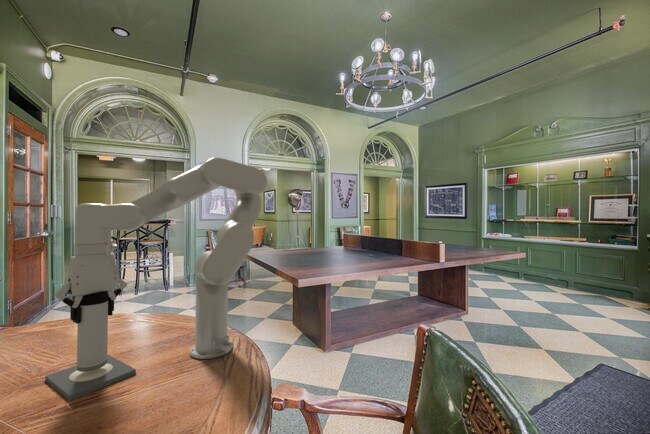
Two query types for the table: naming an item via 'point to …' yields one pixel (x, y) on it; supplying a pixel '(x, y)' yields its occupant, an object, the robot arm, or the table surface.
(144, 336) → the table surface
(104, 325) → the travel mug
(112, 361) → the mat
